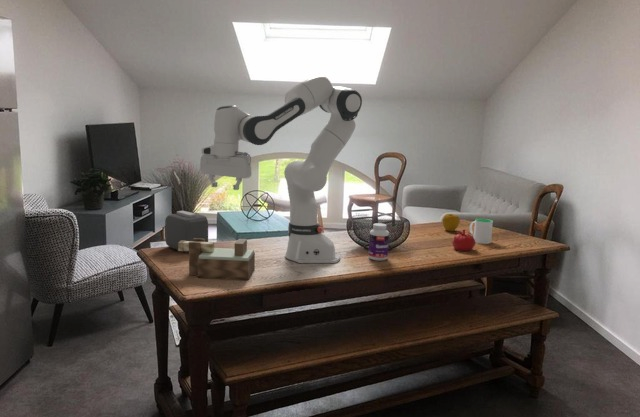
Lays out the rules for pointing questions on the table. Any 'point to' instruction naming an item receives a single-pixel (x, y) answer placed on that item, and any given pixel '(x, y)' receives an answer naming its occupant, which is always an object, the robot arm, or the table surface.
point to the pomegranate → (463, 241)
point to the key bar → (204, 246)
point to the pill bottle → (378, 242)
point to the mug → (482, 230)
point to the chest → (218, 265)
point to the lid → (230, 252)
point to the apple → (450, 222)
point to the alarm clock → (185, 228)
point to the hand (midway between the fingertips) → (225, 188)
